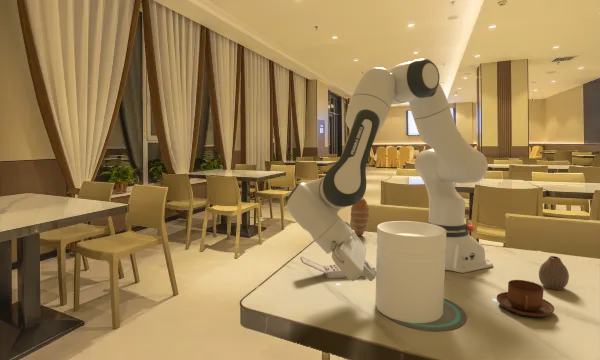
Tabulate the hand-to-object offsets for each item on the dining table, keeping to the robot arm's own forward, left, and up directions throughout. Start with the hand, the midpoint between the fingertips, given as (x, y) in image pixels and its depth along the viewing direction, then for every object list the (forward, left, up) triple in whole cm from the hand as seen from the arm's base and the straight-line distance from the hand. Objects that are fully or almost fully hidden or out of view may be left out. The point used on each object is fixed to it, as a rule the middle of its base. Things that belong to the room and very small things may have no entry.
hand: (373, 277), depth 89 cm
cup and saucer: (-35, +11, -8) cm, 38 cm away
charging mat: (-10, +1, -7) cm, 13 cm away
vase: (-54, +2, -7) cm, 55 cm away
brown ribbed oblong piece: (-24, -64, -7) cm, 69 cm away
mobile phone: (0, -22, -8) cm, 23 cm away
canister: (-8, +4, -7) cm, 11 cm away
